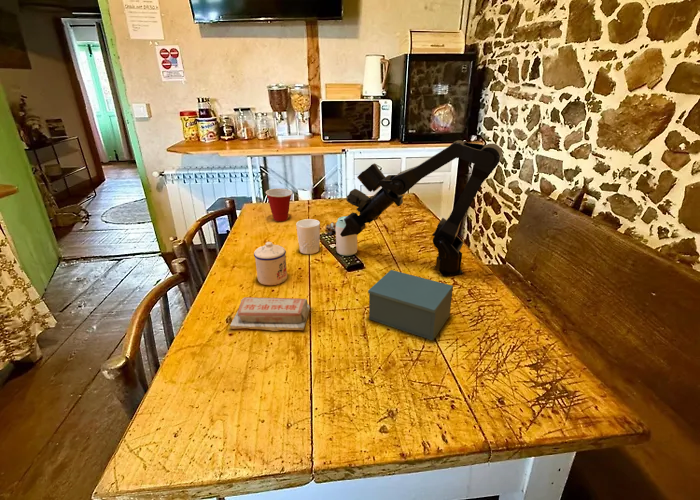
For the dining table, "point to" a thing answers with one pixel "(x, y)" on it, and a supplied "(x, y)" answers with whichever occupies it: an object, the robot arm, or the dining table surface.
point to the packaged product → (271, 314)
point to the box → (409, 316)
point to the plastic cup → (279, 203)
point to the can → (345, 240)
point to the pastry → (331, 228)
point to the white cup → (308, 235)
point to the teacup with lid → (271, 264)
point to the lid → (411, 290)
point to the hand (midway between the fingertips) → (347, 230)
